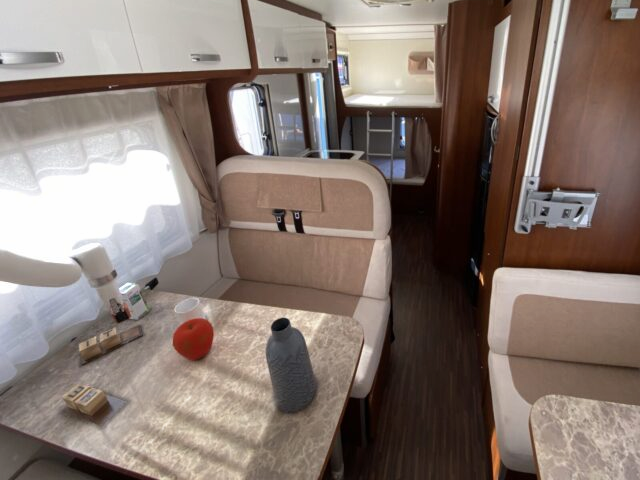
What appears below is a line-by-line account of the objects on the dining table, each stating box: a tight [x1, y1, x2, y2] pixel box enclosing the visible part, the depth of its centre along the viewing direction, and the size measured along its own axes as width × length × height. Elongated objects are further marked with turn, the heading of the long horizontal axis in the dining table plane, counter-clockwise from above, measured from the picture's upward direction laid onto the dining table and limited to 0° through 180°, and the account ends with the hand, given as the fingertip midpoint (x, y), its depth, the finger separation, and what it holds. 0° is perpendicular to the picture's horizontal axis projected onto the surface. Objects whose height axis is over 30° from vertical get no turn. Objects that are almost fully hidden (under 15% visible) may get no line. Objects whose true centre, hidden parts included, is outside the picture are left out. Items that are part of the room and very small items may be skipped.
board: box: [78, 324, 144, 366], centre depth 111 cm, size 17×7×6 cm, turn 134°
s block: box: [109, 302, 131, 325], centre depth 111 cm, size 4×4×5 cm
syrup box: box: [119, 282, 151, 320], centre depth 123 cm, size 6×6×14 cm
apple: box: [172, 318, 215, 361], centre depth 104 cm, size 12×12×14 cm
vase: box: [265, 317, 317, 414], centre depth 87 cm, size 12×12×28 cm
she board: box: [61, 382, 128, 427], centre depth 90 cm, size 17×7×6 cm, turn 74°
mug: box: [173, 297, 207, 326], centre depth 118 cm, size 12×8×10 cm
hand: (122, 316), depth 112 cm, fingers closed on s block, 4 cm apart
